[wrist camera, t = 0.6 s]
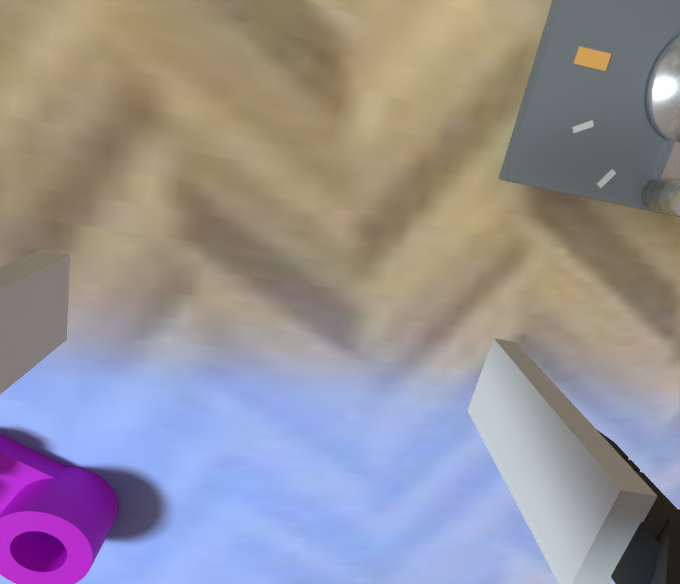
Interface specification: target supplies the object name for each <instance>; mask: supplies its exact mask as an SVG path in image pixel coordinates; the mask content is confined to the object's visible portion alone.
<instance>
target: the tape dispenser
mask: <svg viewBox="0 0 680 584" xmlns="http://www.w3.org/2000/svg"><path fill="white" fill-rule="evenodd" d="M118 509H119V506H118V500H117V497H116V494H115V492H114V491H113V489H112V488H111V487H110V485H109V484H108V483H107V482H106V481H105V480H103V479H102V478H101V477H99V476H98V475H96V474H95V473H93V472H91V471H88V470H86V469H83V468H79V467H75V466H65V465H63V464H61V463H59V462H57V461H55V460H52V459H50V458H48V457H46V456H44V455H42V454H40V453H38V452H36V451H34V450H32V449H30V448H28V447H26V446H24V445H21V444H19V443H17V442H15V441H13V440H11V439H9V438H7V437H5V436H3V435H1V434H0V574H1V575H2V576H3V577H5V578H7V579H8V580H10V581H12V582H14V583H16V584H75V583H77V582H78V581H80V580H81V579H82V578H83V577H84V576H85V575H86V574H87V573H88V571H89V570H90V568H91V566H92V564H93V562H94V560H95V558H96V556H97V554H98V552H99V550H100V549H101V547H102V545H103V543H104V541H105V539H106V537H107V535H108V533H109V531H110V529H111V527H112V525H113V523H114V522H115V520H116V518H117V515H118Z"/></svg>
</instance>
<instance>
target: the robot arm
mask: <svg viewBox="0 0 680 584" xmlns="http://www.w3.org/2000/svg"><path fill="white" fill-rule="evenodd" d="M69 265H70V255H68V254H63V253H58V252H53V251H47V250H40V251H38V252H35V253H33V254H31V255H28V256H26V257H24V258H21V259H19V260H17V261H14V262H12V263H10V264H7V265H5V266H3V267H0V394H1V393H2V392H4V391H5V390H6V389H7V388H9V387H10V386H11V385H12V384H13V383H15V382H16V381H17V380H18V379H19V378H21V377H22V376H23V375H24V374H25V373H27V372H28V371H29V370H30V369H32V368H33V367H34V366H35V365H36V364H38V363H39V362H40V361H41V360H42V359H44V358H45V357H46V356H47V355H49V354H50V353H51V352H52V351H53V350H55V349H56V348H57V347H58V346H59V345H61V344H62V343H63V342H64V341H65V340H67V317H68V291H69ZM468 412H469V414H470V416H471V418H472V420H473V422H474V424H475V426H476V428H477V429H478V431H479V433H480V435H481V437H482V439H483V441H484V443H485V445H486V447H487V448H488V450H489V452H490V454H491V456H492V458H493V460H494V462H495V464H496V466H497V467H498V469H499V471H500V473H501V475H502V477H503V479H504V481H505V483H506V485H507V486H508V488H509V490H510V492H511V494H512V496H513V498H514V500H515V502H516V504H517V505H518V507H519V509H520V511H521V513H522V515H523V517H524V519H525V521H526V523H527V524H528V526H529V528H530V530H531V532H532V534H533V536H534V538H535V540H536V542H537V543H538V545H539V547H540V549H541V551H542V553H543V555H544V557H545V559H546V561H547V562H548V564H549V566H550V568H551V570H552V572H553V574H554V576H555V578H556V580H557V581H558V583H559V584H609V582H610V581H611V579H613V580H614V582H615V583H616V584H680V510H678V509H677V508H676V507H675V506H674V505H673V504H672V503H671V502H670V501H669V500H668V499H667V498H666V497H665V496H664V495H663V493H662V492H661V491H660V490H659V489H658V488H657V487H656V486H655V485H654V484H653V483H652V482H651V481H650V480H649V479H648V478H647V476H646V475H645V474H644V473H642V472H640V469H639V468H638V467H637V466H636V465H635V464H634V463H633V462H632V461H631V460H628V456H627V455H626V454H625V453H624V452H623V451H622V450H621V449H620V448H619V447H618V446H617V445H616V444H615V443H614V442H613V441H612V440H610V439H609V438H607V437H606V436H605V435H603V434H602V433H601V432H599V431H598V430H596V429H595V428H594V426H593V425H592V424H591V423H590V422H589V421H588V420H587V419H586V418H585V417H584V416H583V415H582V413H581V412H580V411H579V410H578V409H577V408H576V407H575V406H574V405H573V404H572V403H571V402H570V400H569V399H568V398H567V397H566V396H565V395H564V394H563V393H562V392H561V391H560V390H559V389H558V388H557V386H556V385H555V384H554V383H553V382H552V381H551V380H550V379H549V378H548V377H547V376H546V375H545V373H544V372H543V371H542V370H541V369H540V368H539V367H538V366H537V365H536V364H535V363H534V362H533V360H532V359H531V358H530V357H529V356H528V355H527V354H526V353H525V352H524V351H523V350H522V349H521V347H520V346H519V345H518V344H517V343H516V342H510V341H505V340H500V339H495V338H494V339H493V342H492V345H491V347H490V350H489V353H488V356H487V358H486V361H485V364H484V367H483V369H482V372H481V375H480V378H479V380H478V383H477V386H476V389H475V391H474V394H473V397H472V399H471V402H470V405H469V408H468Z"/></svg>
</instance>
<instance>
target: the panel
mask: <svg viewBox="0 0 680 584" xmlns="http://www.w3.org/2000/svg"><path fill="white" fill-rule="evenodd" d="M679 33H680V0H553V1H552V5H551V8H550V11H549V15H548V18H547V21H546V25H545V28H544V31H543V34H542V38H541V41H540V44H539V48H538V51H537V54H536V57H535V61H534V64H533V67H532V71H531V74H530V77H529V81H528V84H527V87H526V90H525V94H524V97H523V100H522V104H521V107H520V110H519V113H518V117H517V120H516V123H515V127H514V130H513V133H512V137H511V140H510V143H509V146H508V150H507V153H506V156H505V160H504V163H503V166H502V169H501V173H500V176H499V179H501V180H504V181H509V182H514V183H518V184H523V185H528V186H533V187H538V188H543V189H548V190H552V191H557V192H562V193H567V194H572V195H577V196H581V197H586V198H591V199H596V200H601V201H606V202H611V203H615V204H620V205H625V206H630V207H635V208H640V209H644V210H649V211H654V210H650V209H648V208H646V207H645V206H644V205H643V203H642V199H641V195H642V191H643V189H644V187H645V185H646V184H647V183H648V182H649V181H650V180H651V179H652V177H653V174H654V172H655V169H656V167H657V164H658V162H659V159H660V157H661V155H662V152H663V150H664V147H665V145H666V142H667V140H665V139H663V138H662V137H661V136H659V135H658V134H657V133H656V132H655V131H654V129H653V128H652V126H651V125H650V123H649V121H648V118H647V115H646V112H645V106H644V92H645V85H646V81H647V78H648V74H649V72H650V69H651V67H652V65H653V63H654V61H655V60H656V58H657V56H658V55H659V53H660V52H661V51H662V49H663V48H664V47H665V46H666V45H667V44H668V42H670V41H671V40H672V39H673V38H674V37H675V36H676V35H678V34H679ZM654 212H658V211H654ZM659 213H662V212H659ZM664 214H666V213H664ZM669 215H670V214H669ZM674 216H675V215H674ZM678 217H679V216H678Z"/></svg>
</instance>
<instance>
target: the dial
mask: <svg viewBox="0 0 680 584" xmlns="http://www.w3.org/2000/svg"><path fill="white" fill-rule="evenodd" d="M644 106H645V112H646V115H647V118H648V121H649V123H650V125H651V126H652V128H653V129H654V131H655V132H656V133H657V134H658V135H659V136H661V137H662V138H663V139H665V140H667V142H666V145H665V147H664V150H663V152H662V155H661V157H660V159H659V162H658V164H657V167H656V169H655V172H654V174H653V177H652V179H651V180H650V181H649V182H648V183H647V184H646V185H645V187H644V189H643V191H642V195H641V199H642V203H643V205H644V206H645V207H646V208H648V209H650V210H654V211H658V212H662V213H666V214H670V215H675V216H679V217H680V33H679V34H678V35H676V36H675V37H674V38H673V39H672V40H671V41H670V42H668V44H667V45H666V46H665V47H664V48H663V49H662V51H661V52H660V53H659V55H658V56H657V58H656V60H655V61H654V63H653V65H652V67H651V69H650V72H649V74H648V78H647V81H646V85H645V92H644Z"/></svg>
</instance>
